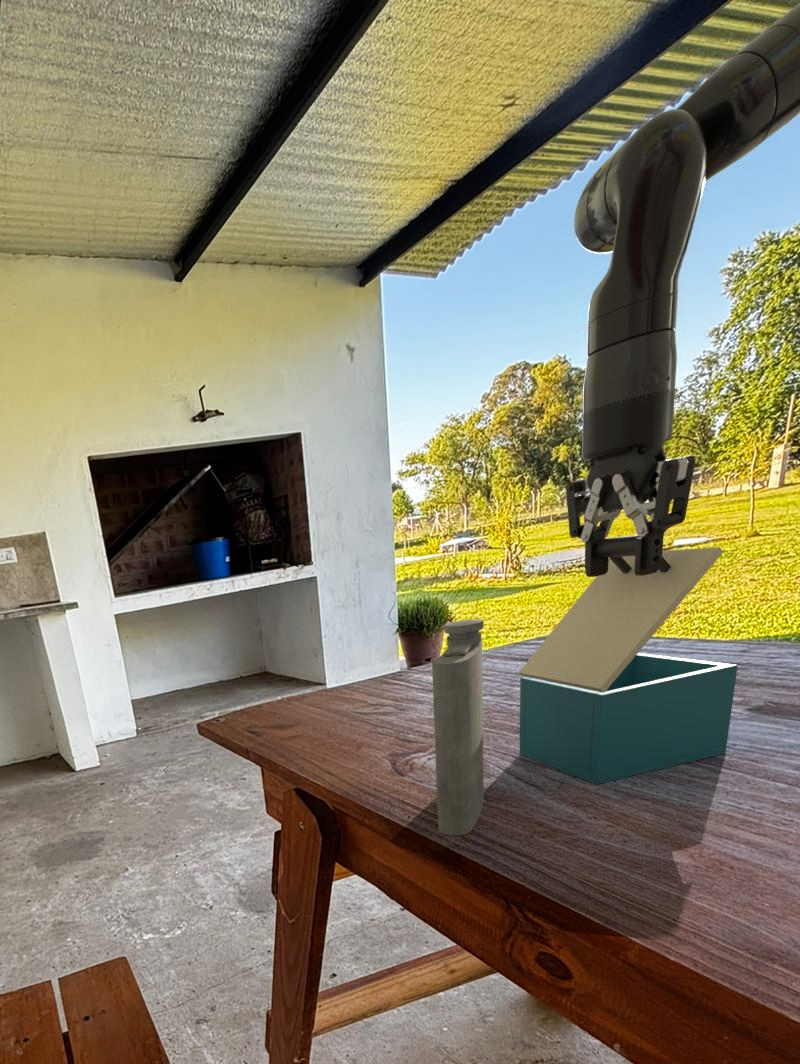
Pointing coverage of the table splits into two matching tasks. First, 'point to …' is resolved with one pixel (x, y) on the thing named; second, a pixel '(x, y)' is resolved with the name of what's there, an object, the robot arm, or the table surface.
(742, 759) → the table surface
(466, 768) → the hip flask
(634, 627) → the lid
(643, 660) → the box
